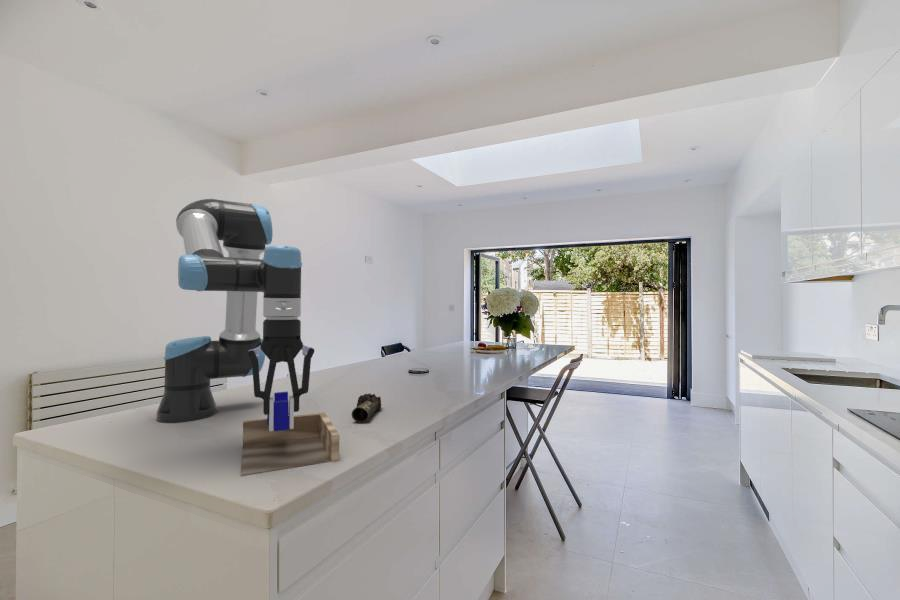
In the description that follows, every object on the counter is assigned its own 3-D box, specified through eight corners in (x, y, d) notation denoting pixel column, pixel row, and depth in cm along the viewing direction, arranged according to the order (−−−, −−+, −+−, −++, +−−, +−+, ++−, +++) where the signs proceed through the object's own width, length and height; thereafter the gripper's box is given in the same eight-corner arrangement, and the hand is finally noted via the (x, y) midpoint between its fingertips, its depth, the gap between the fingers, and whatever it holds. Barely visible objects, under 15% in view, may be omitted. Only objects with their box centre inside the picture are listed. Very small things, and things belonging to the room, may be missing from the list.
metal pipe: (368, 423, 116) (369, 403, 116) (344, 422, 116) (345, 401, 117) (383, 410, 133) (384, 392, 134) (362, 409, 134) (363, 391, 134)
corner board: (242, 446, 99) (243, 420, 99) (324, 436, 107) (324, 412, 107) (240, 477, 81) (241, 446, 81) (339, 463, 89) (339, 434, 89)
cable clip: (268, 418, 101) (267, 393, 101) (288, 416, 102) (287, 391, 102) (266, 432, 90) (265, 403, 90) (289, 429, 91) (288, 401, 91)
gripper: (239, 319, 84) (237, 438, 84) (324, 318, 91) (323, 428, 91) (240, 318, 91) (239, 428, 90) (319, 317, 98) (318, 419, 97)
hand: (281, 428), depth 91 cm, fingers closed on cable clip, 3 cm apart
